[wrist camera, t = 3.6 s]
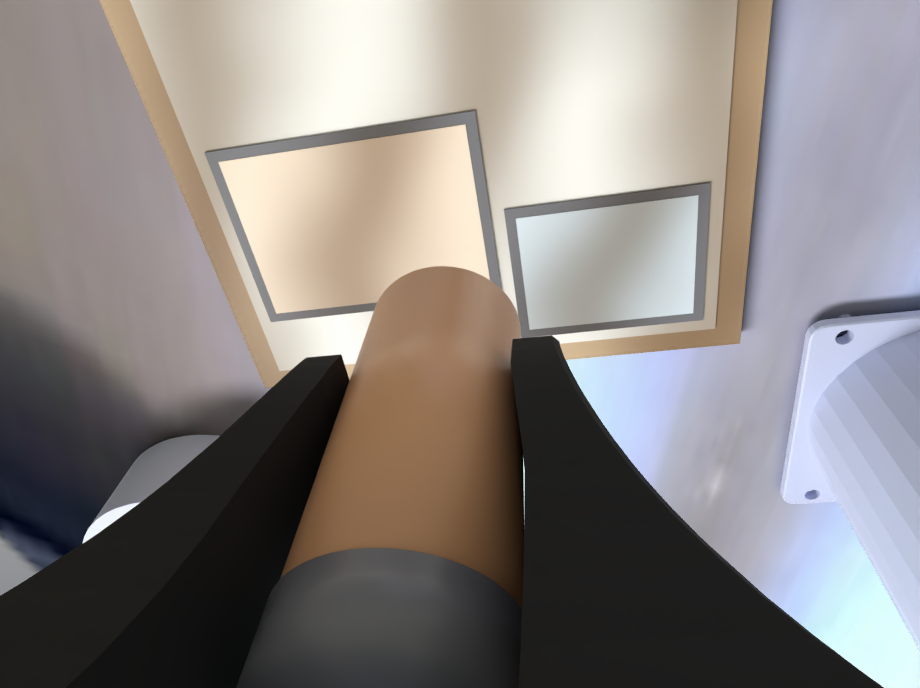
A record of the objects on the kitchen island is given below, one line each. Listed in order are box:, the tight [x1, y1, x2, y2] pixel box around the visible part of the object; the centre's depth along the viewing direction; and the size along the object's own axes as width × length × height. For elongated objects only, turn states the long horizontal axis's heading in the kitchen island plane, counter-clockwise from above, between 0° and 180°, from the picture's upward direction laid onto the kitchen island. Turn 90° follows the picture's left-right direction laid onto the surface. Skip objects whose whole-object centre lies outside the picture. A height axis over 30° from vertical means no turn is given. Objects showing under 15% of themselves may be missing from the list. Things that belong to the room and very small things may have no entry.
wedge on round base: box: [83, 435, 220, 543], centre depth 25 cm, size 9×7×13 cm
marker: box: [236, 266, 524, 688], centre depth 9 cm, size 3×3×7 cm
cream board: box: [100, 0, 773, 388], centre depth 18 cm, size 16×13×1 cm
